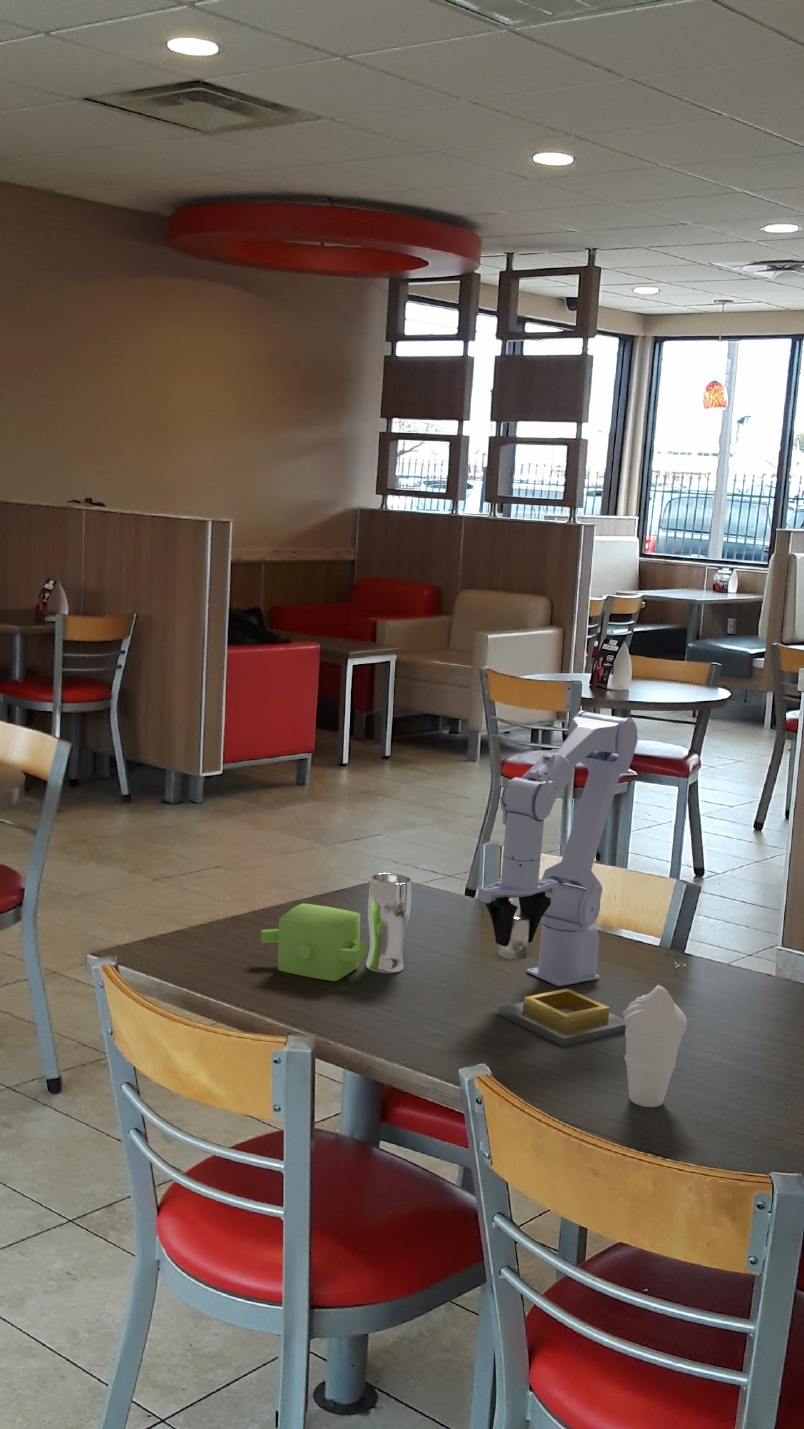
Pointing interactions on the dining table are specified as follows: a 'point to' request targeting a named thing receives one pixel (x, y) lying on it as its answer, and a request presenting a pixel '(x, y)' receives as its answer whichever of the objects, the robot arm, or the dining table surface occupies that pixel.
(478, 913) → the dining table surface
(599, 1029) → the fill port
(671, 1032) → the soft serve ice cream cone
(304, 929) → the gearbox
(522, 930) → the spout can
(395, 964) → the beer glass
